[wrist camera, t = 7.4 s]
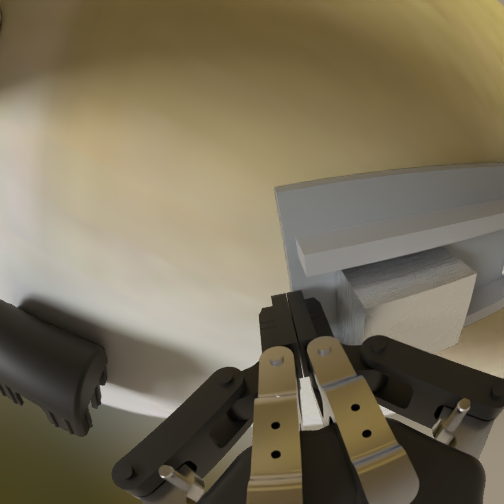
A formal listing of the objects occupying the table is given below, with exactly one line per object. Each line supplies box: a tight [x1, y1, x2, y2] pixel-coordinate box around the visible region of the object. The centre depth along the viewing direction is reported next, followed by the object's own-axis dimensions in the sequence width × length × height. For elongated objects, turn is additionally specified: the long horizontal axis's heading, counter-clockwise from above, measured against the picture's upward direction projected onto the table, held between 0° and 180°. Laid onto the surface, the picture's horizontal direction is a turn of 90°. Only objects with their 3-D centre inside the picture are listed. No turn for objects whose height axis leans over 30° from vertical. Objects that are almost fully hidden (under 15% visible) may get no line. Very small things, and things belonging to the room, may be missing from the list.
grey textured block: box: [336, 246, 477, 354], centre depth 12 cm, size 4×8×4 cm, turn 101°
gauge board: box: [274, 162, 504, 374], centre depth 12 cm, size 12×22×6 cm, turn 101°
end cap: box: [0, 300, 107, 437], centre depth 14 cm, size 10×7×7 cm
